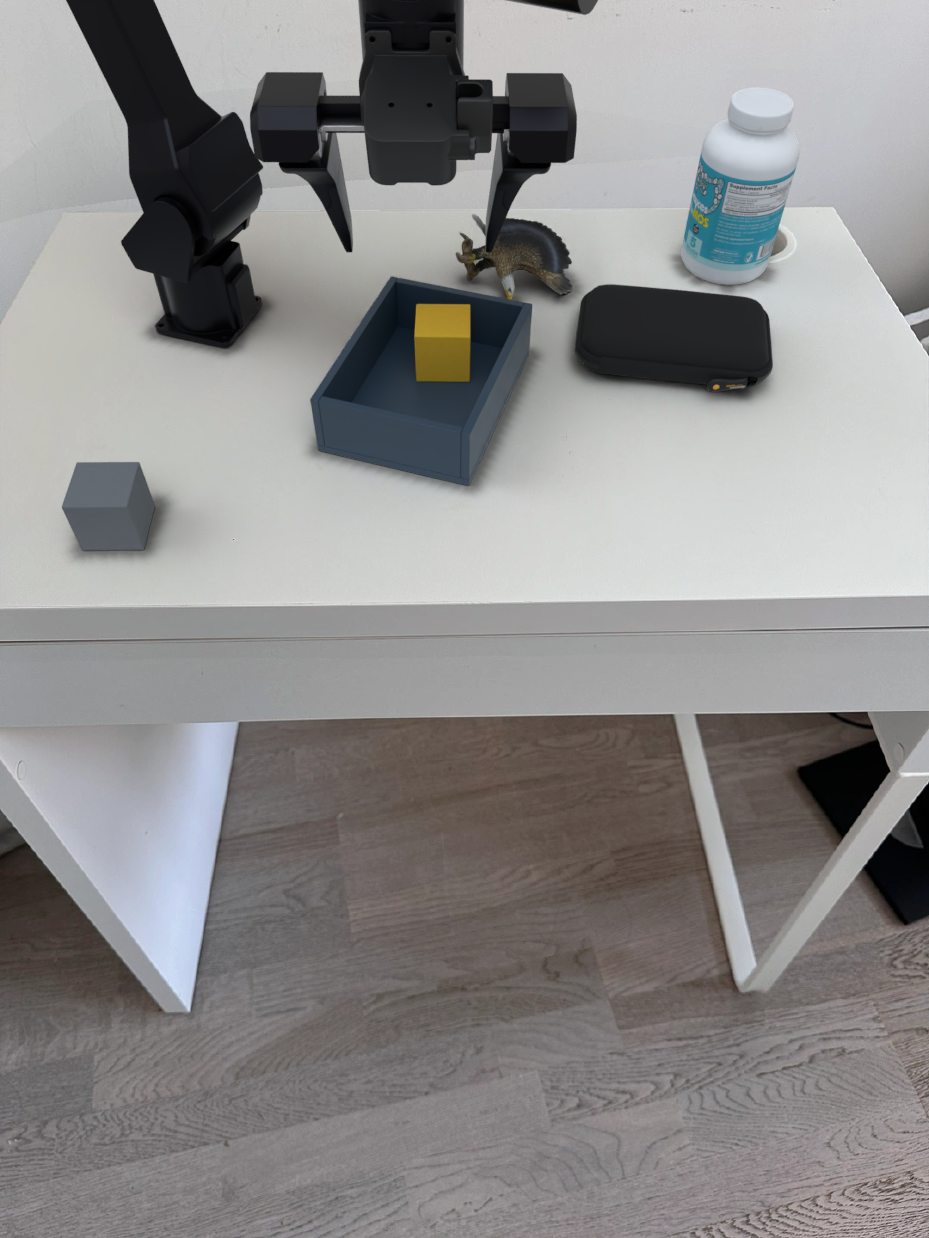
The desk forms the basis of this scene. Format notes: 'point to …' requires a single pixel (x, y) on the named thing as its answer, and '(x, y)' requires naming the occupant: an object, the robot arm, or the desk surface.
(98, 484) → the slate grey cube
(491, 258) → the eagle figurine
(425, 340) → the mustard yellow block
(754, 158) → the pill bottle
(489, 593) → the desk surface
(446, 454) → the dark blue open box
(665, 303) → the carrying case
